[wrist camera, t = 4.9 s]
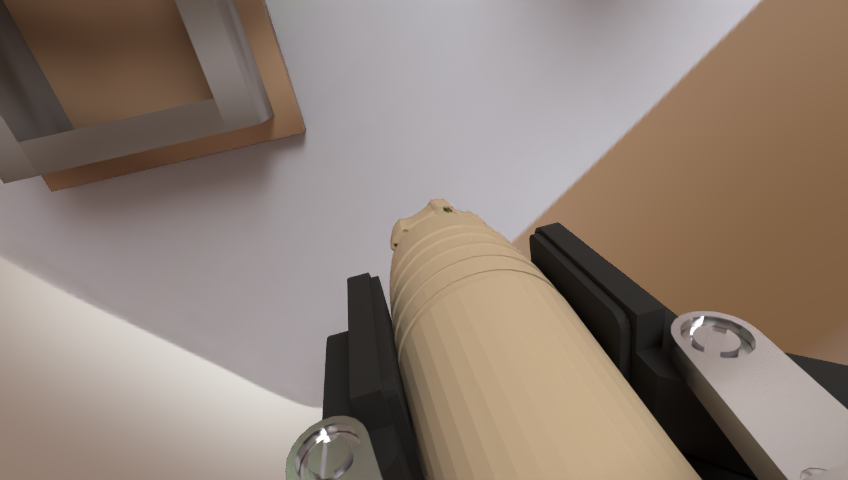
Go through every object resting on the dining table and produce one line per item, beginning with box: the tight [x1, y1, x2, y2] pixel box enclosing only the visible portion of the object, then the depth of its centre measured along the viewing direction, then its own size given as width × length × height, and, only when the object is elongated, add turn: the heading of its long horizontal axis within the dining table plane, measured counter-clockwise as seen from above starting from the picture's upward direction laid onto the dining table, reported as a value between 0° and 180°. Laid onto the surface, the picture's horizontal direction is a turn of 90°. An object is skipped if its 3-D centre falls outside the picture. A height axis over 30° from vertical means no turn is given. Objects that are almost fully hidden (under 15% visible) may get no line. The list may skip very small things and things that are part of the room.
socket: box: [0, 0, 306, 192], centre depth 18 cm, size 14×14×5 cm
